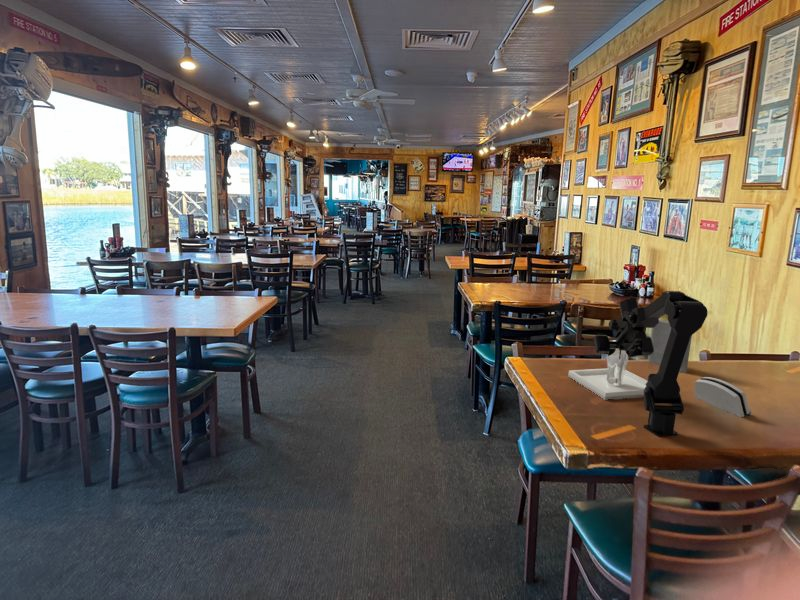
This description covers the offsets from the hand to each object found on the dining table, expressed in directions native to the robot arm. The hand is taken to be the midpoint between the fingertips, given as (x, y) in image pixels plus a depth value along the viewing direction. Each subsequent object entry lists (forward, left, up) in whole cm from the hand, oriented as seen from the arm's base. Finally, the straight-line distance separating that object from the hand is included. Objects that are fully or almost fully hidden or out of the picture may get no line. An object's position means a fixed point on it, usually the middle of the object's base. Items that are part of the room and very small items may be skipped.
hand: (614, 356), depth 178 cm
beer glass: (-2, 0, -10) cm, 10 cm away
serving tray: (-1, 0, -11) cm, 11 cm away
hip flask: (+15, -36, -11) cm, 40 cm away
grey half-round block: (-23, -23, -11) cm, 34 cm away
